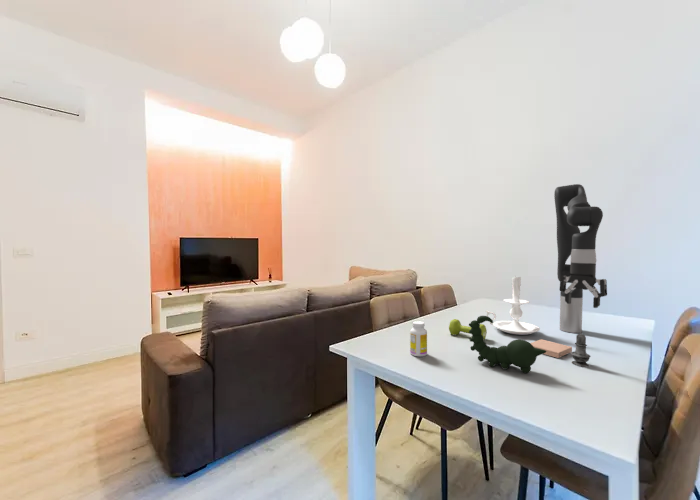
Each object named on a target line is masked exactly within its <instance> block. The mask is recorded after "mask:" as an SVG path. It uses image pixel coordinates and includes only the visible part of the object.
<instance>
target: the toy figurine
mask: <svg viewBox="0 0 700 500" xmlns="http://www.w3.org/2000/svg"><path fill="white" fill-rule="evenodd" d="M492 319H493V318H491V317H489V315H488V316H487V315H480V316H477V318H476V319H474V320H471V321H470V322H469V323H468V327H471V330H469V333H471V334H470V335H471V337H470V338H469V342H471V343H473V345H471V346H470V350H471V351H476V352H478V355H479V356H478V357H477V360H478V361H479V362H482V361H484V360H486V361H487V362H488V366H489V367H490V368H494V367H495V366H497V365H500V367H501V368H502V369H503V370H508V369H509V368H510V366H511V365H513V366H514V367H517V368H520V371H521V372H522V373H524V374H529V373H530V372H531V370H532V366H533V365H534V364H535V363H536V360H537V358H538V356H541V355H544V354H543V353H546V350H542V349H538V348H535V347H533V345H532V344H530V343H531V342H530V341H527V340H525V339H519V338H518V339H514V340H511V341H510V342H509V343H508V344H507V345H499V346H498V347H495V346H489V345H487V343H486V341H484V340H485V339H484V338H483V336H482V335H481V333H482V331H481V328H480V324H483V323H485V322H488V323H490V322H491V323H494V321H492ZM469 333H468V334H469Z"/></svg>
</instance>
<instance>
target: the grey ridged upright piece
mask: <svg viewBox="0 0 700 500" xmlns="http://www.w3.org/2000/svg"><path fill="white" fill-rule="evenodd" d="M575 336H576V342H575V343H574V344H575V350H574V351H572V352H570V354H571V357H572V359H573V361H571V364H572V365H573V366H574V365H575V366H577V367H581V368H588V367H590V364H589V363H588V362H589V361H590V358H591V355H590V354H588V353H587V346H588V344H586V343H587V336H585V335H584V334H583V331H582V332H581V333H577V334H576V335H575Z"/></svg>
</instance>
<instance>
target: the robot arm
mask: <svg viewBox="0 0 700 500" xmlns="http://www.w3.org/2000/svg"><path fill="white" fill-rule="evenodd" d="M553 196H554V205H555V206H554V207H555V215H556V243H557V246H556V247H557V279H558V281H559V292H560V294H559V297H560V298H559V330H560V331H563V332H567V333H573V334H580V333H581V332H582V333H583V299H584V298H583V297H584V292H583V290H584V291H589V293H591V294H592V295H593V303H592V304H593V306H592V308H594V309H597V308H599V307H600V305H601V298H602V297H607V296H608V286H607V285H608V283H607V279H606V278H602V279H601V278H600V279H599V278H597V277H596V275H597V273H596V272H597V253H596V251H597V250H596V246H597V245H596V241H597V234H598V230H599V228H600V225H601V223H602V220H603V216H604V213H603V210H602V209H601V208H600V207H598V206H591V205H590V203H589V202H588V197H587V193H586V190H585V187H584V186H583V185H582V184H581V183H577V184H567V185H562V186H557V187H556V188H555V189H554V195H553ZM565 207H567V210H568V211H567V212H566V211H565ZM579 227H588V228H587V230H585V231H581V229H580V228H579ZM569 258H570V263H569V264H567V260H568V259H569ZM567 283H569V284H570V285H569V286H568V287H567ZM596 283H597V285H598V286H599V290H598V288H597V287H596V286H595V285H596Z"/></svg>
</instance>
